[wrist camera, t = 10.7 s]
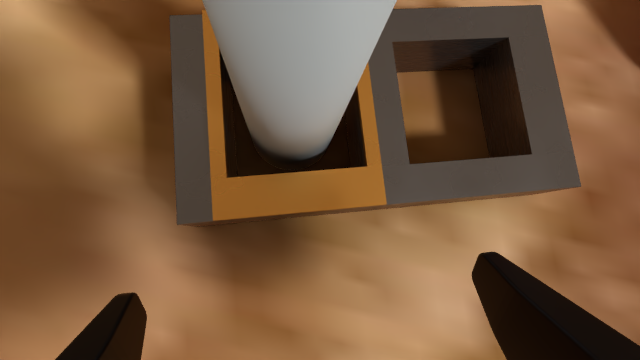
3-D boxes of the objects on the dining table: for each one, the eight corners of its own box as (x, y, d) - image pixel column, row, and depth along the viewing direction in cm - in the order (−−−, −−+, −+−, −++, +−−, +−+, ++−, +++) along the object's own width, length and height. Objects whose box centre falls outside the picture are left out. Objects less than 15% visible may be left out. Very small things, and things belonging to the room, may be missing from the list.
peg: (342, 155, 17) (481, -46, 5) (267, 181, 17) (212, 27, 4) (314, 84, 18) (378, -259, 5) (240, 107, 17) (123, -219, 5)
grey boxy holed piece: (532, 194, 18) (587, 185, 15) (197, 226, 16) (174, 224, 13) (502, 40, 19) (545, 0, 16) (189, 52, 17) (167, 10, 14)
